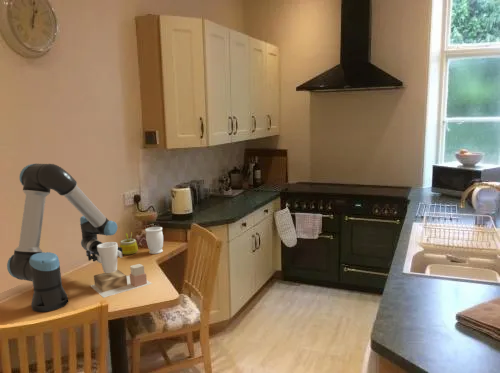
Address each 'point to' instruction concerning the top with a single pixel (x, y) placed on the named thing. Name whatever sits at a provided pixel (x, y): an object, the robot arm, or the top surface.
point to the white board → (118, 290)
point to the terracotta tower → (137, 275)
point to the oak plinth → (110, 280)
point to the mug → (128, 246)
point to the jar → (154, 239)
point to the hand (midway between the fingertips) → (111, 257)
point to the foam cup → (108, 256)
